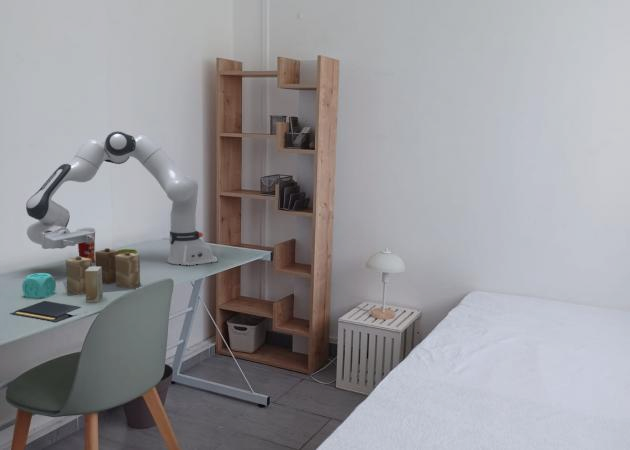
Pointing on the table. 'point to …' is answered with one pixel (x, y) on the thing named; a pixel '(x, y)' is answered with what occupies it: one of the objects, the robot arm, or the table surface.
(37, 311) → the dark grey book
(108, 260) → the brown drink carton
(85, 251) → the coffee cup
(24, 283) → the decorative dice
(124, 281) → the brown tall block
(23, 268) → the table surface
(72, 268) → the light brown wooden canister
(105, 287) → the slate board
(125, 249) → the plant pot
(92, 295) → the skincare box
